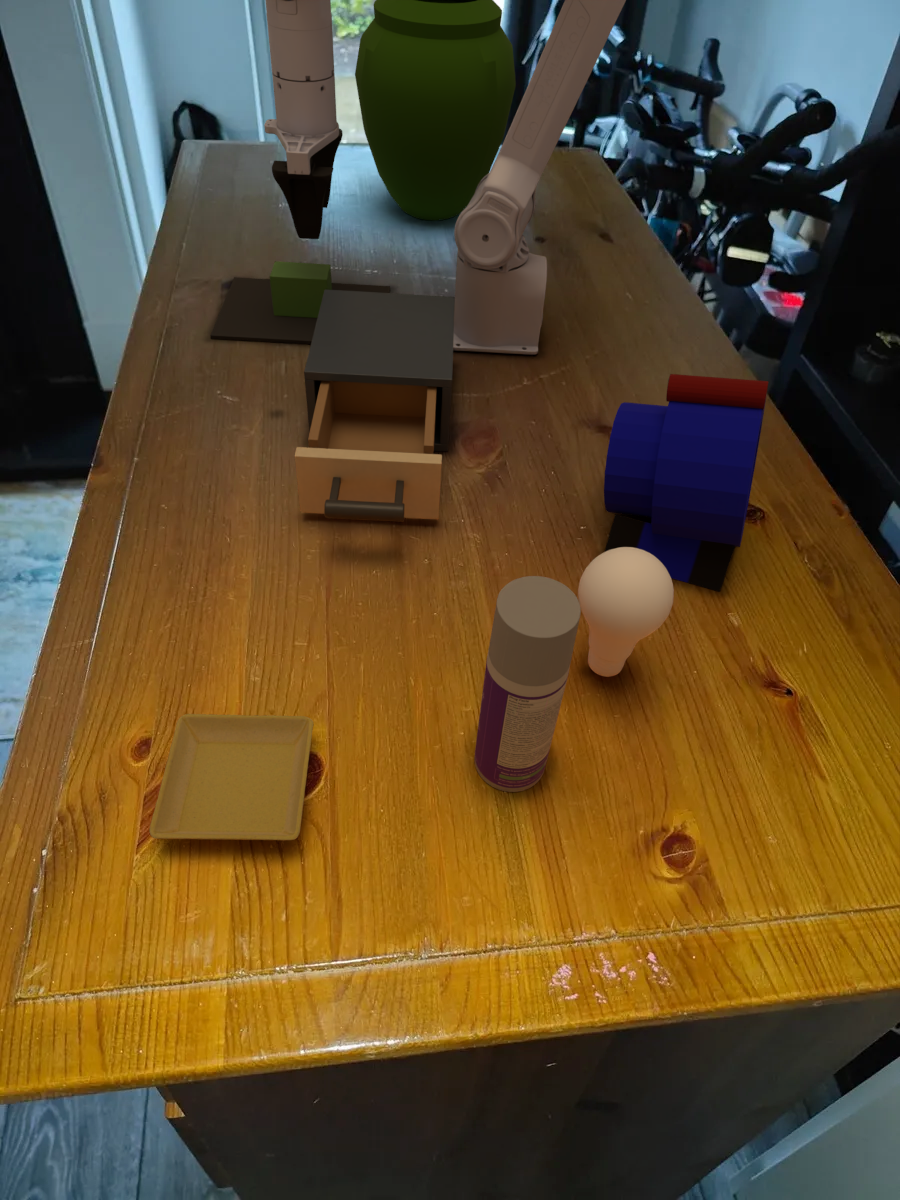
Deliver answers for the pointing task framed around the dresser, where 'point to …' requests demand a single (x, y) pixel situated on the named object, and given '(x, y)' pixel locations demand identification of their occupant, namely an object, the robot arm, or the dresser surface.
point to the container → (524, 680)
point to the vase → (434, 99)
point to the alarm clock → (686, 474)
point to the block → (299, 288)
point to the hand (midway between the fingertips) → (313, 221)
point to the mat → (267, 314)
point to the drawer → (371, 453)
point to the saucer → (234, 778)
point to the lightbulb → (622, 604)
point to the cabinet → (384, 346)
